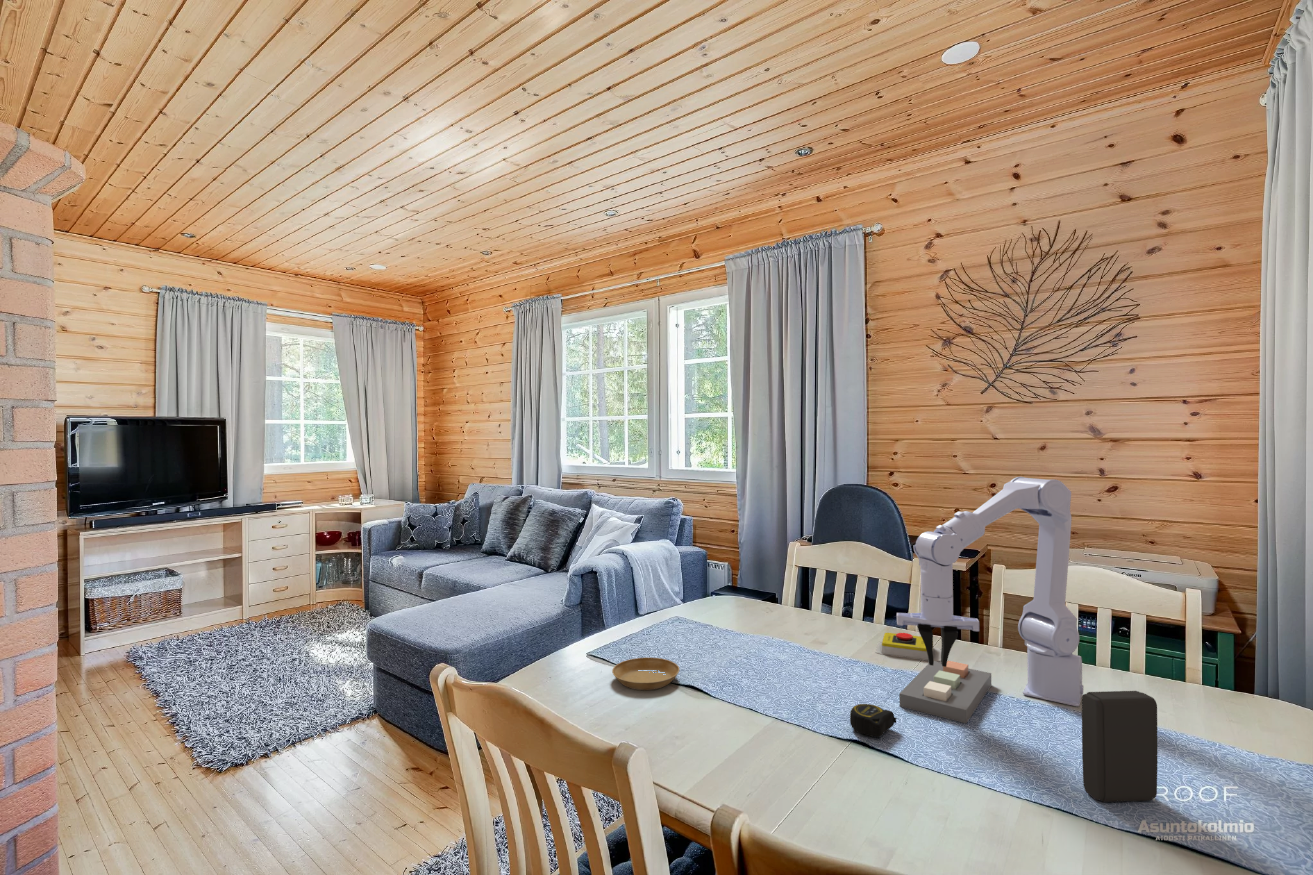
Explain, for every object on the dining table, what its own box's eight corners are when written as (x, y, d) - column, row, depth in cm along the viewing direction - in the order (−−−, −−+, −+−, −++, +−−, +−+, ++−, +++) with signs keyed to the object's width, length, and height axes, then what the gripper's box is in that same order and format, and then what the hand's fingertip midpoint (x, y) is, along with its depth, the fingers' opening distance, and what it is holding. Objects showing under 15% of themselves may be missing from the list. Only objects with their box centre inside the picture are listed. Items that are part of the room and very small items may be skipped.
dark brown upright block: (1139, 787, 93) (1138, 687, 93) (1161, 803, 89) (1161, 699, 89) (1079, 789, 93) (1078, 689, 93) (1099, 805, 89) (1098, 700, 89)
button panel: (991, 684, 131) (991, 673, 131) (966, 723, 114) (966, 709, 114) (931, 671, 139) (931, 660, 139) (899, 706, 122) (899, 693, 121)
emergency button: (878, 626, 159) (942, 633, 153) (878, 643, 159) (942, 651, 153) (874, 637, 151) (942, 645, 144) (874, 655, 151) (942, 664, 144)
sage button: (960, 687, 127) (960, 674, 127) (955, 693, 123) (955, 681, 123) (939, 682, 129) (939, 670, 129) (934, 688, 126) (933, 676, 126)
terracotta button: (968, 676, 132) (968, 664, 132) (963, 682, 129) (963, 670, 129) (948, 671, 135) (948, 660, 135) (943, 677, 131) (943, 665, 131)
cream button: (951, 698, 121) (951, 685, 121) (945, 705, 118) (945, 692, 118) (929, 693, 124) (929, 680, 124) (923, 700, 121) (923, 687, 121)
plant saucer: (603, 691, 131) (603, 679, 131) (623, 666, 145) (623, 654, 145) (671, 698, 127) (671, 685, 127) (685, 671, 142) (685, 659, 142)
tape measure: (879, 744, 107) (879, 723, 107) (843, 731, 112) (842, 710, 112) (896, 731, 112) (896, 710, 112) (861, 718, 117) (861, 699, 117)
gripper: (974, 591, 122) (974, 660, 122) (895, 587, 127) (896, 653, 127) (981, 601, 116) (981, 673, 116) (897, 595, 120) (898, 665, 120)
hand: (937, 664), depth 121 cm, fingers closed
